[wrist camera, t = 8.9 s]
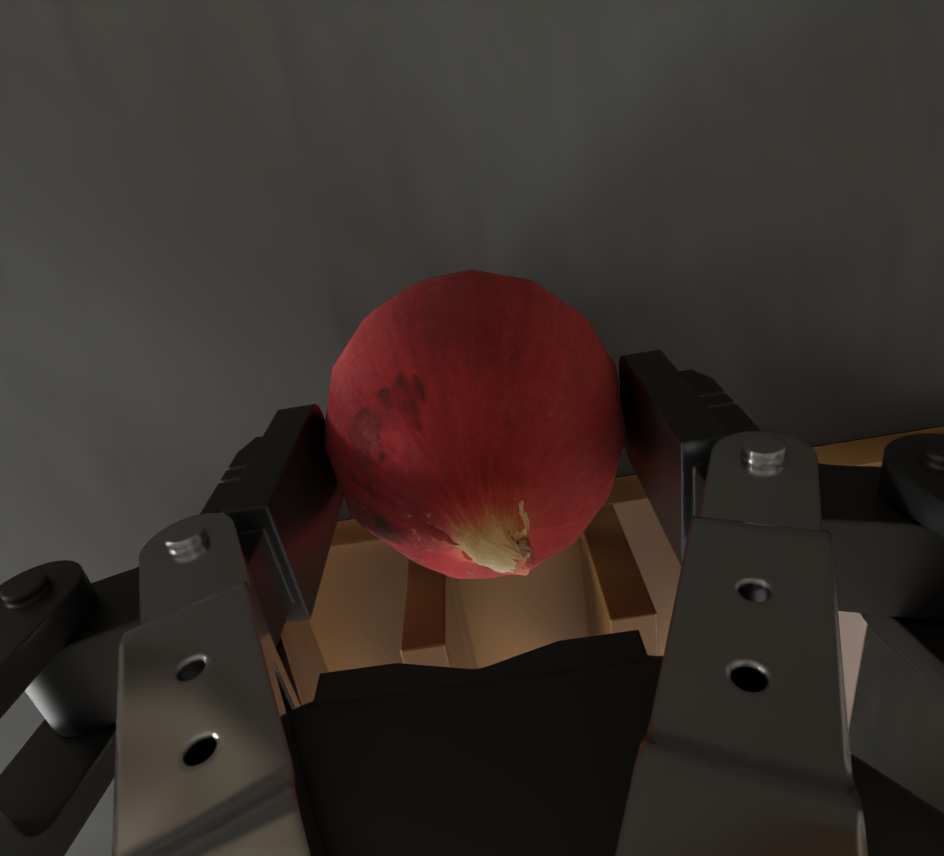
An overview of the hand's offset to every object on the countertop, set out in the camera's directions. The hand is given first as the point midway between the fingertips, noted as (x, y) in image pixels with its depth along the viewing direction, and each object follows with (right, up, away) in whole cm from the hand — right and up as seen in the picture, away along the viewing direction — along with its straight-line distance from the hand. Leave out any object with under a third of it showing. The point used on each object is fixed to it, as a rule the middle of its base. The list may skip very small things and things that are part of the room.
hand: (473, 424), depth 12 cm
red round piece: (0, +2, +4) cm, 4 cm away
